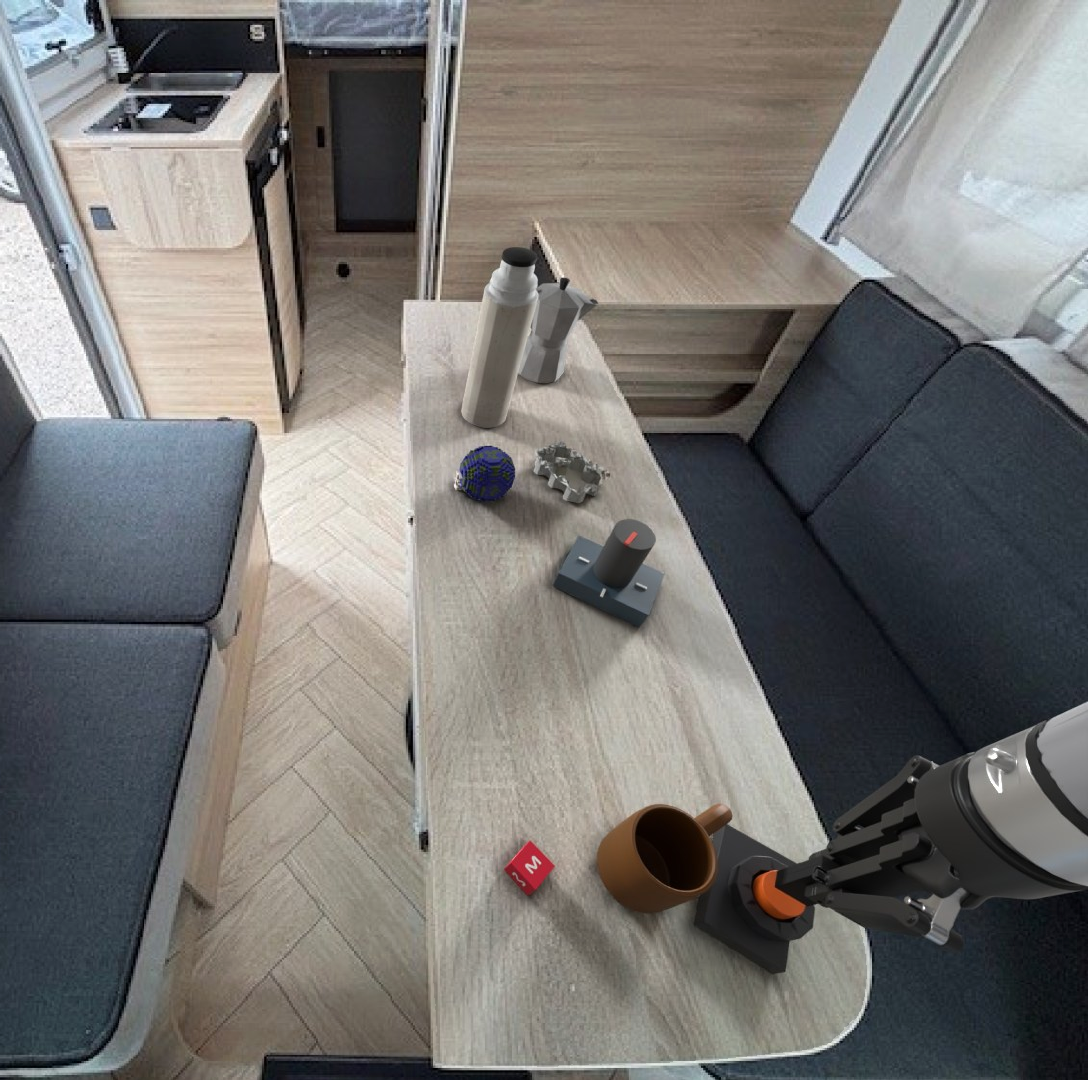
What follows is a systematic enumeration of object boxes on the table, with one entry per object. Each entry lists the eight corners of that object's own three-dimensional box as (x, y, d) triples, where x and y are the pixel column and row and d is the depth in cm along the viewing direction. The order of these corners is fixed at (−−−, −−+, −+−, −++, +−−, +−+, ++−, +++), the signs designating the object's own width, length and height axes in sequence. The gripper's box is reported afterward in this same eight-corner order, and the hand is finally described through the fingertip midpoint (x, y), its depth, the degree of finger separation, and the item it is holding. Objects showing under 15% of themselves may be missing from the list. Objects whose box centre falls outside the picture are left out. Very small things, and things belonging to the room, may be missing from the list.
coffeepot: (574, 362, 115) (605, 271, 102) (572, 390, 110) (605, 297, 96) (495, 349, 118) (516, 258, 104) (489, 375, 112) (510, 283, 98)
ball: (460, 510, 89) (468, 474, 83) (451, 475, 94) (458, 438, 88) (512, 508, 90) (524, 471, 84) (500, 473, 94) (510, 436, 89)
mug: (664, 795, 63) (706, 764, 56) (721, 866, 59) (774, 843, 52) (578, 852, 59) (611, 826, 52) (632, 932, 55) (676, 917, 48)
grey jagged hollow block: (605, 494, 92) (614, 475, 89) (568, 509, 90) (576, 490, 87) (561, 452, 98) (569, 433, 95) (525, 465, 96) (532, 446, 93)
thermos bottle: (487, 395, 108) (524, 236, 86) (515, 419, 103) (561, 259, 82) (452, 407, 105) (480, 247, 84) (479, 433, 101) (516, 270, 79)
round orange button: (796, 889, 54) (808, 885, 53) (791, 928, 52) (803, 925, 51) (755, 865, 56) (766, 861, 54) (749, 903, 54) (759, 899, 52)
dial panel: (657, 583, 81) (666, 569, 79) (638, 631, 76) (648, 618, 74) (573, 545, 85) (580, 531, 83) (550, 589, 80) (557, 575, 78)
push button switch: (795, 874, 59) (820, 865, 55) (780, 979, 53) (807, 976, 50) (714, 828, 61) (734, 817, 58) (692, 924, 56) (713, 918, 52)
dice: (522, 847, 59) (530, 839, 57) (546, 872, 58) (555, 865, 56) (503, 869, 58) (510, 862, 56) (527, 895, 57) (535, 889, 54)
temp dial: (604, 552, 81) (626, 511, 74) (638, 572, 79) (664, 532, 72) (586, 573, 78) (607, 532, 72) (620, 594, 76) (645, 554, 70)
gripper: (956, 690, 38) (759, 798, 57) (960, 882, 31) (733, 935, 49) (1099, 753, 36) (845, 845, 54) (1138, 976, 29) (831, 996, 47)
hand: (792, 888), depth 52 cm, fingers closed
